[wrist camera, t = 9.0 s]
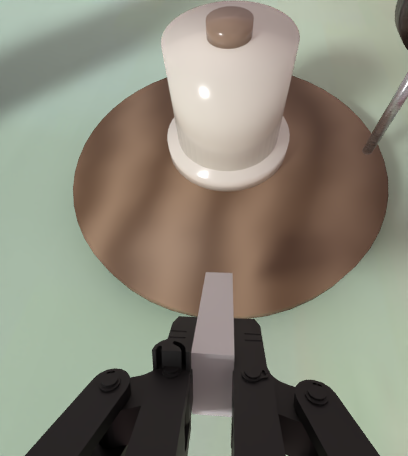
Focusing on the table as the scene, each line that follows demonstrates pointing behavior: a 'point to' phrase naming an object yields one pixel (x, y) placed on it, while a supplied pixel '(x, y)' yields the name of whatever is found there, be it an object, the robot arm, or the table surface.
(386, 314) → the table surface
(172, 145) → the canister
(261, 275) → the turntable
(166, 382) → the robot arm
